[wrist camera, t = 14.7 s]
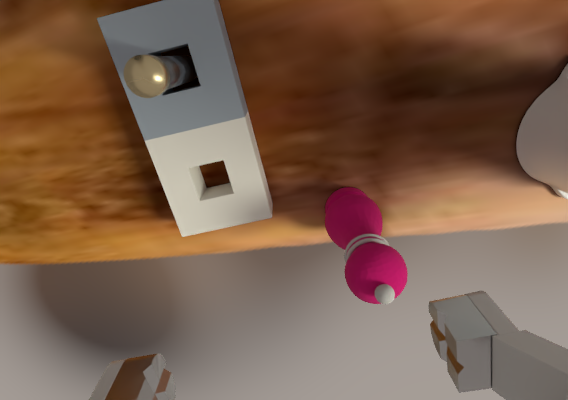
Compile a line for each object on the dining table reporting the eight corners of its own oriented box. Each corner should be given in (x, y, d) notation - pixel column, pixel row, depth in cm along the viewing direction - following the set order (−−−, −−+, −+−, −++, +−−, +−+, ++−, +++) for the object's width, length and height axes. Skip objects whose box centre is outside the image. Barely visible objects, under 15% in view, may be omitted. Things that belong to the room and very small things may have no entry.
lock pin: (195, 50, 42) (156, 50, 29) (204, 79, 43) (171, 93, 30) (167, 57, 42) (117, 60, 29) (177, 86, 43) (133, 102, 30)
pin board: (217, -6, 39) (209, -13, 35) (272, 203, 49) (272, 217, 45) (115, 21, 40) (96, 18, 36) (190, 221, 50) (182, 236, 46)
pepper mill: (332, 237, 52) (361, 341, 33) (313, 195, 49) (334, 283, 31) (379, 219, 51) (437, 316, 32) (363, 175, 48) (416, 253, 29)
